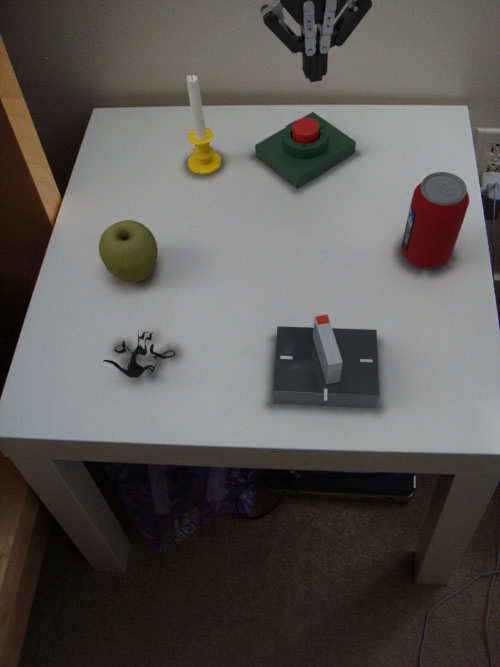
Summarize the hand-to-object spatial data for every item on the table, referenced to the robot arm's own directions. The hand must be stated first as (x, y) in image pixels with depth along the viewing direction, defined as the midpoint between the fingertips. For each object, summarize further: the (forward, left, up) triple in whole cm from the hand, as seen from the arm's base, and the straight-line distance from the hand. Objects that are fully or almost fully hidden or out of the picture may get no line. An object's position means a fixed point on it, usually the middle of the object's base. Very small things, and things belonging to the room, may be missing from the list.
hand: (314, 77), depth 75 cm
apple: (+29, -4, -19) cm, 34 cm away
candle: (+9, -15, -19) cm, 26 cm away
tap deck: (+20, +25, -18) cm, 37 cm away
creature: (+36, +9, -19) cm, 41 cm away
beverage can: (-3, +20, -19) cm, 27 cm away
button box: (-4, -6, -18) cm, 20 cm away
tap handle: (+20, +25, -15) cm, 35 cm away
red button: (-4, -6, -15) cm, 16 cm away
